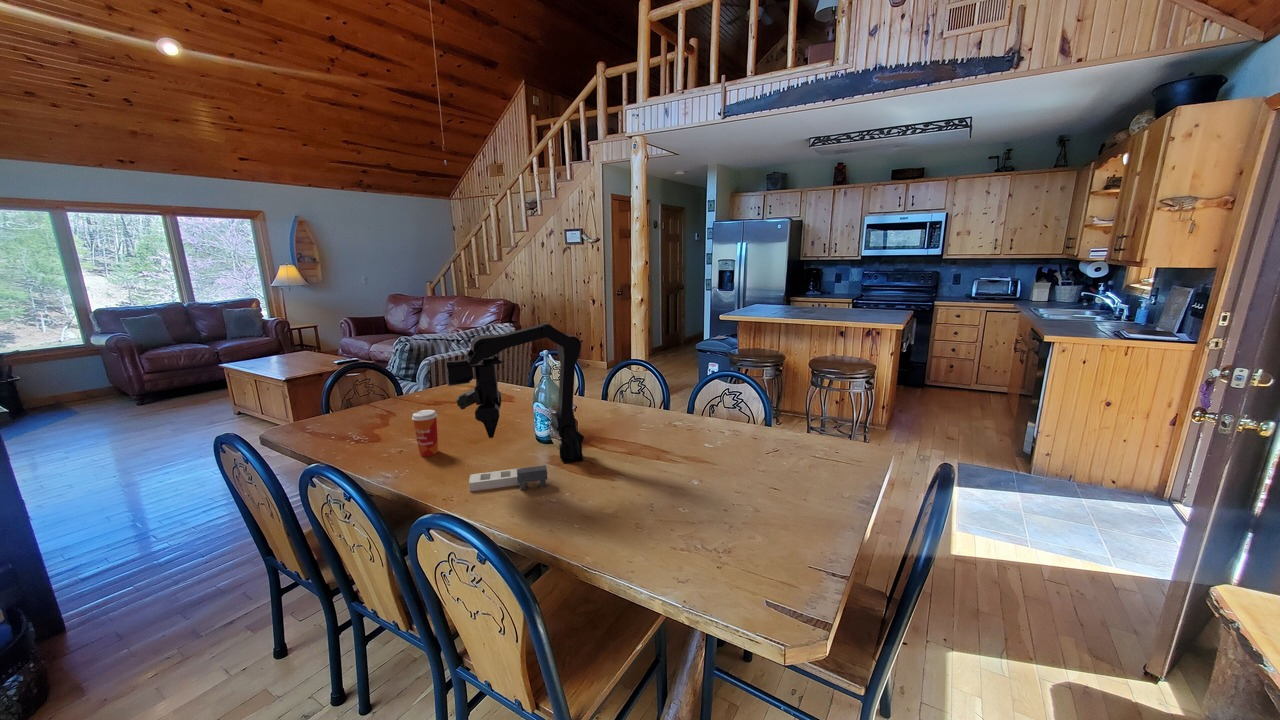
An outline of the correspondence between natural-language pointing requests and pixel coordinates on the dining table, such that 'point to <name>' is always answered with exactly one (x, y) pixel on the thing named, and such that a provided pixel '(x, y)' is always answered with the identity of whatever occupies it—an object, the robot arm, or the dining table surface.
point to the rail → (493, 480)
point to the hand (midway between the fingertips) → (492, 432)
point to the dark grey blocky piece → (532, 476)
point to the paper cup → (426, 432)
